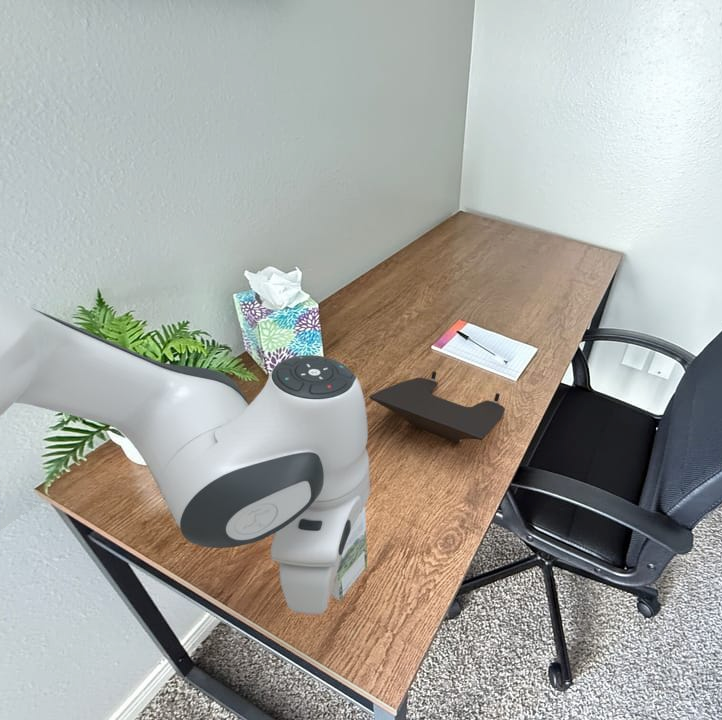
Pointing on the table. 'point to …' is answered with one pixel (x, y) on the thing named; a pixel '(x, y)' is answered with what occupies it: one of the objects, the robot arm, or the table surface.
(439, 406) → the laptop tray
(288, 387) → the robot arm
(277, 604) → the table surface
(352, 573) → the syrup box
